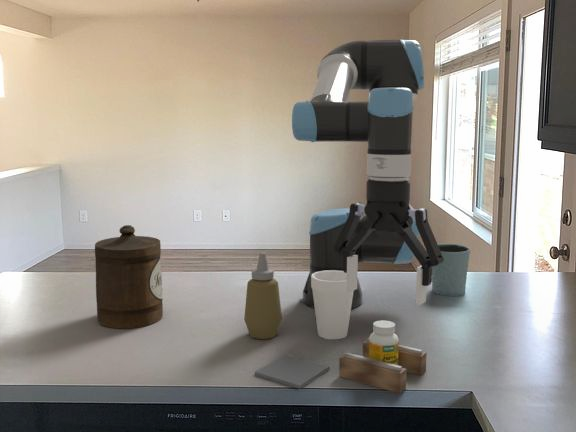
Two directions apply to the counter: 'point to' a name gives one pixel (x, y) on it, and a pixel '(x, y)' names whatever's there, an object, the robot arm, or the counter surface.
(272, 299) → the squeeze bottle
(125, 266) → the wooden container
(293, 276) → the counter surface
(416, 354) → the wooden blocks
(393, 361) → the supplement bottle
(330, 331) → the foam cup
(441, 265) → the green cup
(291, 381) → the mat
